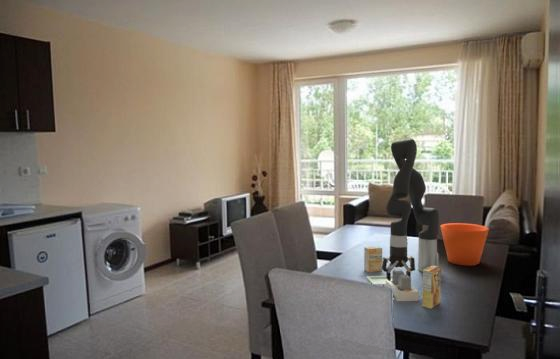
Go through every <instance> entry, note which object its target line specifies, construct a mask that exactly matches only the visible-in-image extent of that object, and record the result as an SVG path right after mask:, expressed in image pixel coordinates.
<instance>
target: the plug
mask: <svg viewBox="0 0 560 359" xmlns="http://www.w3.org/2000/svg"><path fill="white" fill-rule="evenodd" d="M391 275H392V283H393V284H394V285H398V277H399V276H400V275H405V273H404V271H403V270H402V269H397V268H396V269H394V268H393V270H392V274H391Z"/></svg>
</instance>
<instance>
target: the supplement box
mask: <svg viewBox="0 0 560 359" xmlns="http://www.w3.org/2000/svg"><path fill="white" fill-rule="evenodd" d="M363 250H364V254H363V255H364V256H363V257H364V259H363V262H364V263H363V269H364V271H365V272H367V273H373V272H382V271H383V270H382V261H383V248H382V247H380V246H368V247H367V246H364V249H363Z"/></svg>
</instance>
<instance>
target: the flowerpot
mask: <svg viewBox="0 0 560 359" xmlns="http://www.w3.org/2000/svg"><path fill="white" fill-rule="evenodd" d="M439 226H440V230H441V236H442V240H443V244H444V247H445V252H446V256H447V260H448V261H447V262H449V263H451V264H454V265H459V266H477V264H478V265H479V264H480V262H481V259H482V255H483V252H484V247H485V244H486V240H487V237H488V234H489V230H490V228H489V227H487V226H485V225H480V224H475V223H466V222H465V223H463V222H462V223H461V222H455V223H454V222H450V223H449V222H448V223H444V224H443V223H442V224H440V225H439Z"/></svg>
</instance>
